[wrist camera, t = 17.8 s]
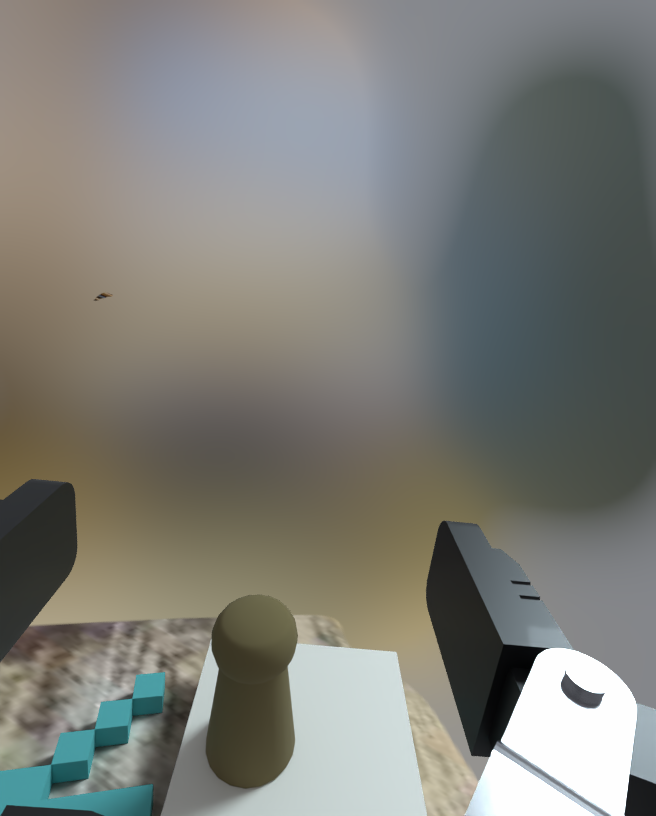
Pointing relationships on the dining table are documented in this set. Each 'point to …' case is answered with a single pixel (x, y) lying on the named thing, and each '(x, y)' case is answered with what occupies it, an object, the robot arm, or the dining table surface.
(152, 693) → the alien figure
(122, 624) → the dining table surface
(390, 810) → the peg shelf
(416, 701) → the dining table surface
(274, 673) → the cork
